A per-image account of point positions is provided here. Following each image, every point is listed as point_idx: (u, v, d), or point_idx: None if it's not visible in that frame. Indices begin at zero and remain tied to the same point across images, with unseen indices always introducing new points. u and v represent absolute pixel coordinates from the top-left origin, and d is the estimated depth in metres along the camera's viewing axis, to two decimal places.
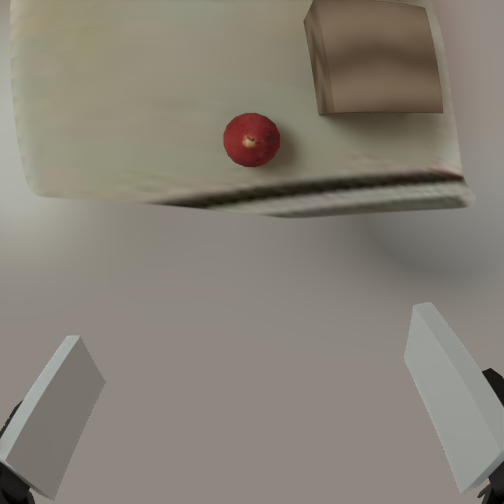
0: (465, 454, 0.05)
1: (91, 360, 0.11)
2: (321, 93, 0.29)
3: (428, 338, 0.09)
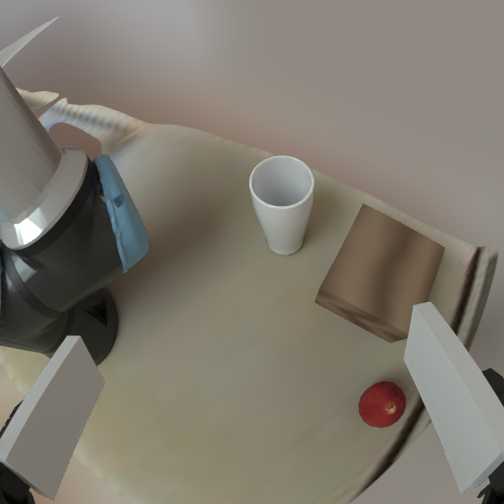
0: (465, 454, 0.05)
1: (91, 360, 0.11)
2: (383, 332, 0.35)
3: (428, 338, 0.09)
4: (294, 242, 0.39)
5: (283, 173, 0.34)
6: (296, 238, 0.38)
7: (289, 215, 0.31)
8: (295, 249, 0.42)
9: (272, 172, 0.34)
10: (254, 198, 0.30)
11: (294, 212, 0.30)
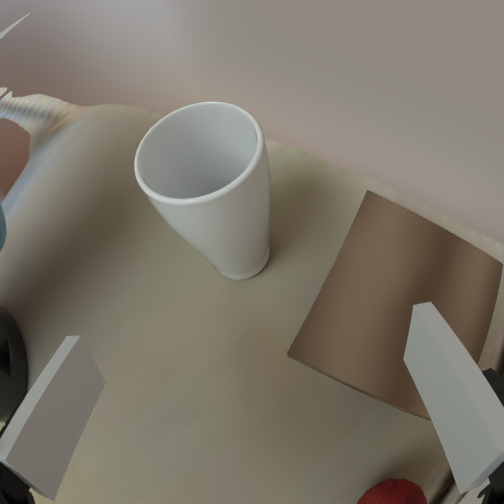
0: (465, 454, 0.05)
1: (91, 360, 0.11)
2: (399, 408, 0.19)
3: (428, 338, 0.09)
4: (247, 262, 0.22)
5: (215, 139, 0.18)
6: (248, 256, 0.21)
7: (211, 217, 0.14)
8: (254, 270, 0.25)
9: (194, 138, 0.18)
10: None
11: (220, 210, 0.14)
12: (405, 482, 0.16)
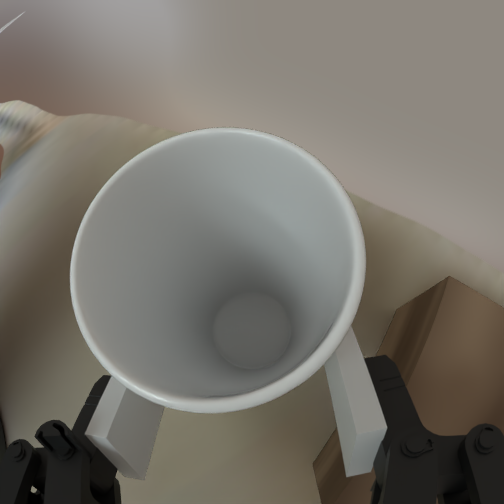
0: (345, 434, 0.07)
1: None
2: None
3: None
4: None
5: (234, 196, 0.10)
6: None
7: None
8: None
9: (194, 194, 0.10)
10: None
11: None
12: None
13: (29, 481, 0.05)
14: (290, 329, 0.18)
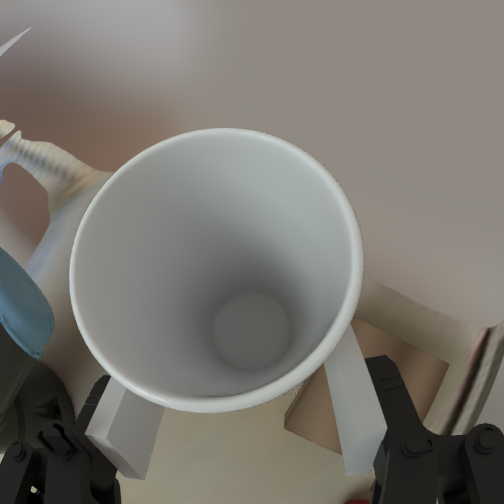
0: (345, 435, 0.07)
1: None
2: None
3: None
4: None
5: (233, 196, 0.10)
6: None
7: None
8: None
9: (193, 195, 0.10)
10: None
11: None
12: (365, 503, 0.23)
13: (29, 481, 0.05)
14: (290, 329, 0.18)
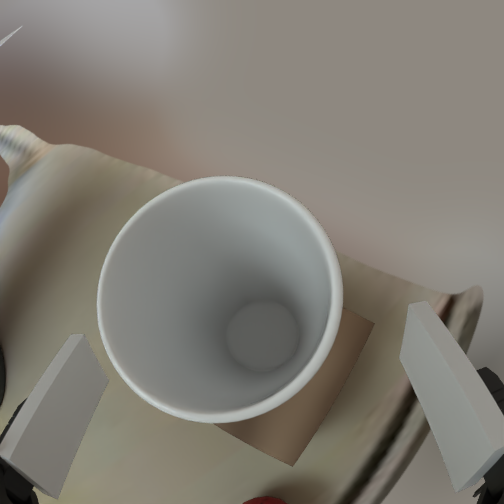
0: (460, 453, 0.06)
1: (95, 358, 0.11)
2: None
3: (423, 337, 0.09)
4: None
5: (235, 227, 0.11)
6: None
7: None
8: None
9: (199, 228, 0.11)
10: None
11: None
12: (274, 502, 0.20)
13: None
14: (298, 333, 0.19)
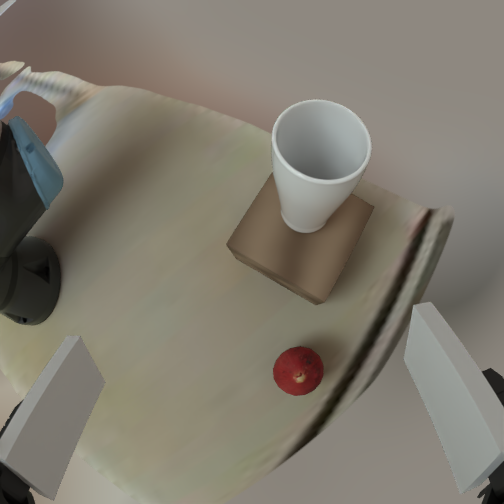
0: (465, 454, 0.05)
1: (91, 360, 0.11)
2: (302, 294, 0.36)
3: (428, 338, 0.09)
4: (325, 219, 0.28)
5: (315, 125, 0.22)
6: (329, 215, 0.26)
7: (336, 192, 0.19)
8: (321, 225, 0.31)
9: (299, 123, 0.22)
10: (282, 166, 0.19)
11: (344, 187, 0.19)
12: (307, 348, 0.34)
13: None
14: None
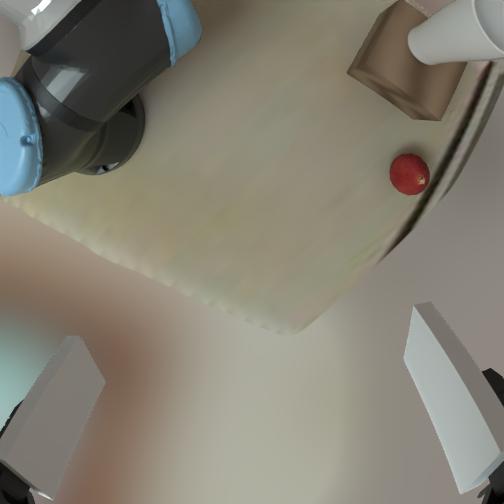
0: (465, 454, 0.05)
1: (91, 360, 0.11)
2: (411, 110, 0.35)
3: (428, 338, 0.09)
4: None
5: None
6: None
7: None
8: None
9: None
10: (480, 33, 0.14)
11: None
12: (416, 155, 0.36)
13: None
14: None
